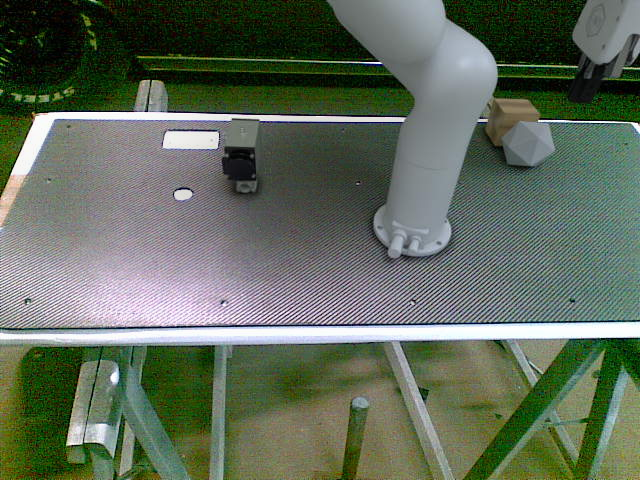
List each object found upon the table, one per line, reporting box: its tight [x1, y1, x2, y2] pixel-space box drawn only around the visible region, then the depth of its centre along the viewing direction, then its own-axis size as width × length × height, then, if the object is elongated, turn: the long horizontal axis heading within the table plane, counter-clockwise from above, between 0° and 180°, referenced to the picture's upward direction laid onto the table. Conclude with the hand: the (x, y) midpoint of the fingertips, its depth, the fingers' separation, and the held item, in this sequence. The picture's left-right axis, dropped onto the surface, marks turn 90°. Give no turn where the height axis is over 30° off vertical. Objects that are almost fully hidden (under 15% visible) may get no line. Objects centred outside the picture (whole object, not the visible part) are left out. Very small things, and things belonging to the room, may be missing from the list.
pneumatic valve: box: [220, 117, 262, 194], centre depth 80 cm, size 6×12×12 cm, turn 0°
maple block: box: [484, 98, 541, 147], centre depth 96 cm, size 7×7×7 cm
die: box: [501, 121, 556, 167], centre depth 90 cm, size 8×9×10 cm
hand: (577, 100), depth 71 cm, fingers closed
